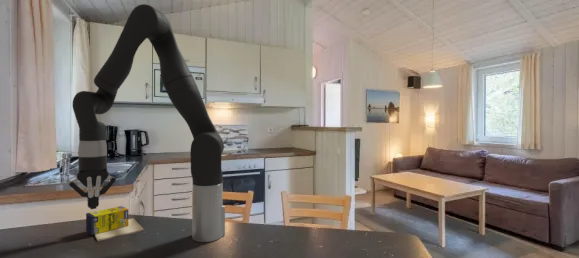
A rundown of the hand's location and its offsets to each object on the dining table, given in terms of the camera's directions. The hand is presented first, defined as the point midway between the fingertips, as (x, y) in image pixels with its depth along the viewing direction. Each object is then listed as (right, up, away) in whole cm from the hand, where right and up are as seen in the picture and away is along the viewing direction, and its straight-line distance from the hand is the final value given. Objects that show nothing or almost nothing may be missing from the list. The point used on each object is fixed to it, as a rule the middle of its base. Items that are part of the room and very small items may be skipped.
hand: (93, 208), depth 91 cm
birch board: (+5, -8, +5) cm, 11 cm away
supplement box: (-1, -5, 0) cm, 5 cm away
